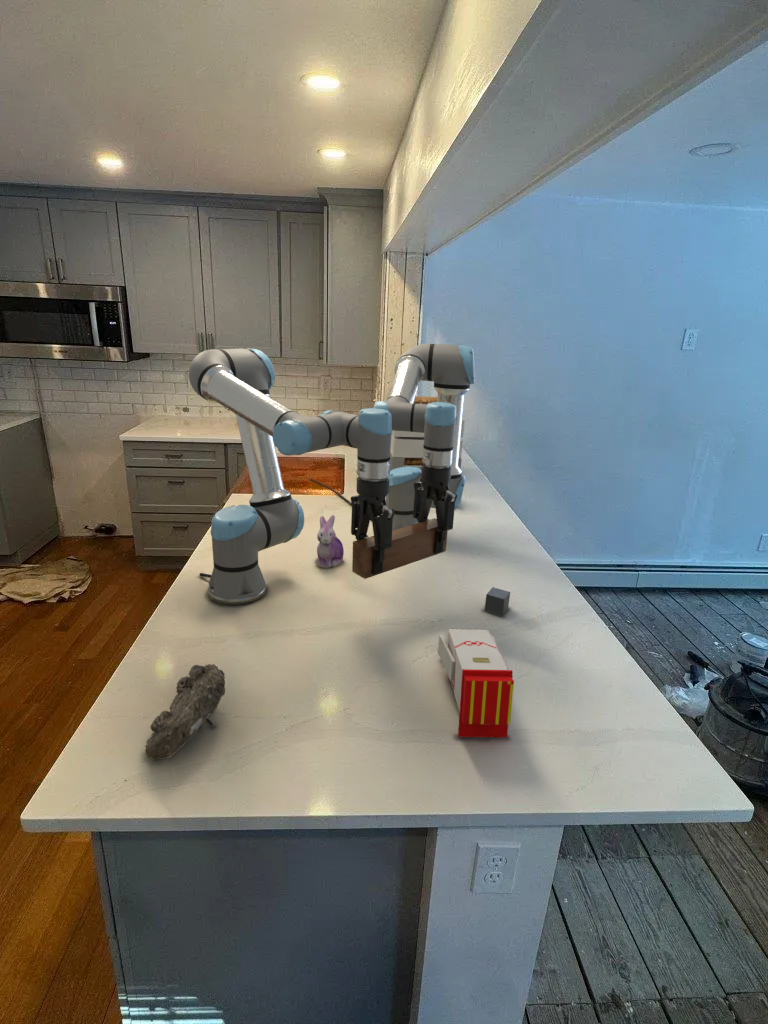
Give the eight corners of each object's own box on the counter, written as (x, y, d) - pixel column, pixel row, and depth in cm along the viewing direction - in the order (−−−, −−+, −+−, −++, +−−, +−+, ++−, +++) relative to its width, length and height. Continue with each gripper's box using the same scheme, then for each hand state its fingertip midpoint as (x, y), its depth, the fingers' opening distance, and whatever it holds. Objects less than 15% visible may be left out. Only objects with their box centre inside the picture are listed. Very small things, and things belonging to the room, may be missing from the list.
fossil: (174, 665, 116) (226, 633, 111) (207, 696, 118) (259, 665, 113) (119, 753, 96) (179, 718, 91) (161, 787, 99) (221, 755, 94)
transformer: (382, 463, 289) (386, 382, 275) (445, 464, 293) (451, 384, 279) (390, 482, 257) (394, 392, 243) (460, 483, 261) (468, 394, 247)
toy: (488, 613, 130) (523, 677, 101) (484, 667, 133) (517, 744, 104) (435, 612, 130) (455, 676, 101) (432, 666, 133) (451, 743, 103)
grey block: (484, 610, 151) (486, 594, 149) (490, 603, 155) (492, 586, 153) (502, 616, 149) (504, 599, 147) (508, 608, 153) (510, 591, 151)
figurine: (321, 571, 169) (321, 524, 164) (309, 557, 177) (309, 512, 172) (350, 565, 173) (351, 520, 168) (337, 553, 182) (338, 509, 177)
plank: (352, 571, 138) (352, 541, 136) (432, 545, 156) (434, 518, 153) (364, 579, 135) (365, 548, 132) (445, 551, 152) (448, 523, 150)
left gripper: (336, 470, 135) (335, 559, 143) (386, 489, 122) (381, 586, 130) (361, 466, 139) (358, 552, 147) (411, 484, 127) (405, 578, 135)
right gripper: (402, 459, 148) (397, 541, 156) (452, 475, 135) (445, 564, 143) (422, 455, 153) (417, 535, 160) (473, 470, 140) (465, 556, 148)
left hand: (369, 568), depth 139 cm, fingers closed on plank, 5 cm apart
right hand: (430, 548), depth 152 cm, fingers closed on plank, 5 cm apart
